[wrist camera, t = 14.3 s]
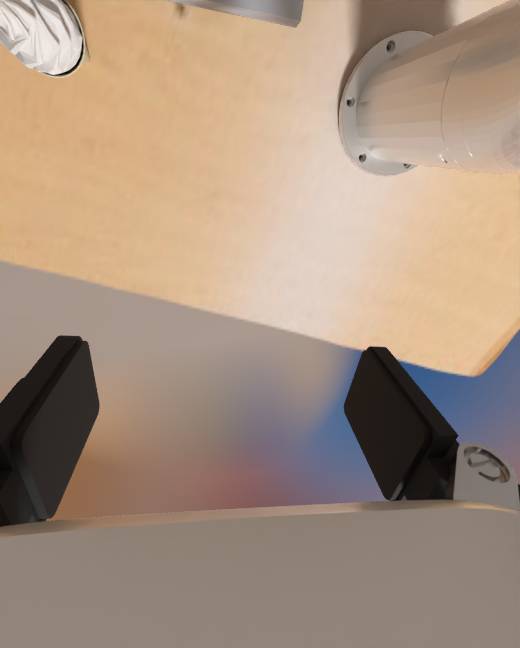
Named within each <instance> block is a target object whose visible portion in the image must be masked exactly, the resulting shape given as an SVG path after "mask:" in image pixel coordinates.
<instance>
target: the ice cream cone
mask: <svg viewBox="0 0 520 648" xmlns="http://www.w3.org/2000/svg"><path fill="white" fill-rule="evenodd" d="M0 43H1V44H2V45H3V46H5V47H6V48H7V49H8V50H9V51H10V52H11V53H13V54H14V55H16V57H17V58H18V59H19V61H20V62H21V63H22V64H24V65H25V66H26V67H28V68H34V69H35V70H37V71H38V72H40V73H42V74H44V75H47V76H50V77H55V78H62V77H67V76H69V75H72V74H73V73H74V72H75V71H77V69H78V68H79V67H80V66H82V65H84V64H85V63H87V62H88V61H89V60H90V57H89V54H88V50H87V47H86V44H85V37H84V32H83V29H82V26H81V23H80V20H79V18H78V16H77V14H76V12H75V11H74V9H73V8H72V6H71V5H70V4H69V2H68V1H67V0H0Z"/></svg>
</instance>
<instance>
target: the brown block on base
mask: <svg viewBox="0 0 520 648" xmlns="http://www.w3.org/2000/svg"><path fill="white" fill-rule="evenodd" d="M168 1H173V2H177V3H182V4H187V5H192V6H196V7H201V8H206V9H210V10H215V11H220V12H225V13H229V14H234V15H239V16H244V17H248V18H253V19H258V20H263V21H267V22H272V23H277V24H282V25H286V26H291V27H297V25H298V24H299V22H300V21H301V15H302V8H303V1H304V0H168Z"/></svg>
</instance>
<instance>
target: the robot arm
mask: <svg viewBox="0 0 520 648" xmlns="http://www.w3.org/2000/svg"><path fill="white" fill-rule="evenodd" d="M387 46H388V47H389V50H388V51H387V49H386V48H387ZM347 100H349V101H350V104H349V105H347ZM339 132H340V136H341V140H342V144H343V146H344V149H345V151H346V153H347V155H348V156H349V157H350V159H351V160H352V162H353V163H354V164H356V165H357V166H358V167H359V168H360V169H362V170H364V171H366V172H368V173H371V174H374V175H379V176H394V175H398V174H402V173H405V172H407V171H409V170H411V169H413V168H415V167H416V166H418V165H420V166H428V167H436V168H444V169H452V170H459V171H467V172H475V173H485V174H499V175H502V174H513V173H519V172H520V0H509V1H507V2H505V3H503V4H501V5H499V6H497V7H494V8H492V9H490V10H488V11H486V12H484V13H482V14H480V15H478V16H475V17H473V18H471V19H469V20H467V21H465V22H463V23H461V24H459V25H457V26H454V27H452V28H450V29H448V30H446V31H444V32H442V33H440V34H438V35H435V36H433V35H430V34H428V33H425V32H422V31H411V30H410V31H405V32H399V33H396V34H394V35H392V36H390V37H387V38H385V39H384V40H382V41H381V42H379V43H377V44H376V45H375V46H374V47H372V48H371V49H370V50H369V51H368V52H367V53H366V54H365V55H364V56H363V57H362V58H361V60H360V61H359V62H358V63H357V65H356V66H355V68H354V70H353V71H352V73H351V75H350V76H349V78H348V81H347V83H346V86H345V88H344V91H343V94H342V99H341V103H340V109H339ZM360 155H361V159H360V160H359V156H360ZM404 163H405V165H404ZM98 412H99V399H98V393H97V388H96V383H95V377H94V372H93V366H92V361H91V355H90V350H89V345H88V342H87V341H82V338H81V337H80V336H58V337H57V338H56V339H55V341H54V342H53V343H52V344H51V345H50V347H49V348H48V349H47V350H46V352H45V353H44V354H43V355H42V357H41V358H40V359H39V360H38V361H37V363H36V364H35V365H34V366H33V368H32V369H31V370H30V372H29V373H28V374H27V375H26V377H25V378H22V379H21V380H20V381H19V382H18V383H17V384H16V385H15V386H14V387H13V388H12V390H11V391H10V392H9V393H8V395H7V396H6V397H5V399H4V400H3V401H2V402H1V403H0V648H520V485H519V484H518V483H517V477H516V474H515V472H514V470H513V469H512V467H511V466H510V464H509V463H508V462H507V461H506V460H505V459H504V458H503V457H501V456H500V455H499V454H497V453H496V452H495V451H493V450H491V449H489V448H488V447H486V446H483V445H480V444H478V443H472V442H467V443H462V444H461V445H459V443H458V442H457V441H456V438H457V437H458V435H457V433H456V432H455V431H454V429H453V428H452V427H451V426H450V425H449V423H448V422H447V421H446V420H445V418H444V417H443V416H442V415H441V414H440V412H439V411H438V410H437V409H436V407H435V406H434V405H433V404H432V402H431V401H430V400H429V399H428V398H427V396H426V395H425V394H424V393H423V391H422V390H421V389H420V388H419V387H418V385H417V384H416V383H415V382H414V381H413V379H412V378H411V377H410V376H409V374H408V373H407V372H406V371H405V369H404V368H403V367H402V366H401V365H400V363H399V362H398V361H397V360H396V358H395V357H394V356H393V355H392V354H391V352H390V351H389V350H388V349H387V348H386V347H368V348H367V350H365V351H363V353H362V355H361V358H360V361H359V363H358V366H357V369H356V372H355V375H354V378H353V381H352V383H351V386H350V389H349V392H348V395H347V398H346V400H345V403H344V412H345V415H346V417H347V419H348V421H349V423H350V425H351V427H352V430H353V432H354V434H355V436H356V438H357V440H358V443H359V444H360V447H361V449H362V451H363V453H364V455H365V457H366V460H367V462H368V464H369V466H370V468H371V470H372V472H373V474H374V477H375V479H376V481H377V483H378V485H379V487H380V489H381V492H382V494H383V496H384V497H385V498H386V499H387V500H390V501H382V502H361V503H340V504H320V505H301V506H285V507H284V506H283V507H263V508H246V509H227V510H209V511H192V512H177V513H159V514H142V515H125V516H109V517H96V518H83V519H70V520H58V521H46V519H48V518H52V517H53V516H54V515H55V513H56V511H57V508H58V506H59V504H60V501H61V499H62V497H63V494H64V492H65V490H66V487H67V485H68V483H69V480H70V478H71V476H72V473H73V471H74V469H75V466H76V464H77V462H78V459H79V457H80V455H81V453H82V450H83V448H84V445H85V443H86V441H87V438H88V436H89V434H90V432H91V429H92V427H93V425H94V422H95V420H96V418H97V415H98Z"/></svg>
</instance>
